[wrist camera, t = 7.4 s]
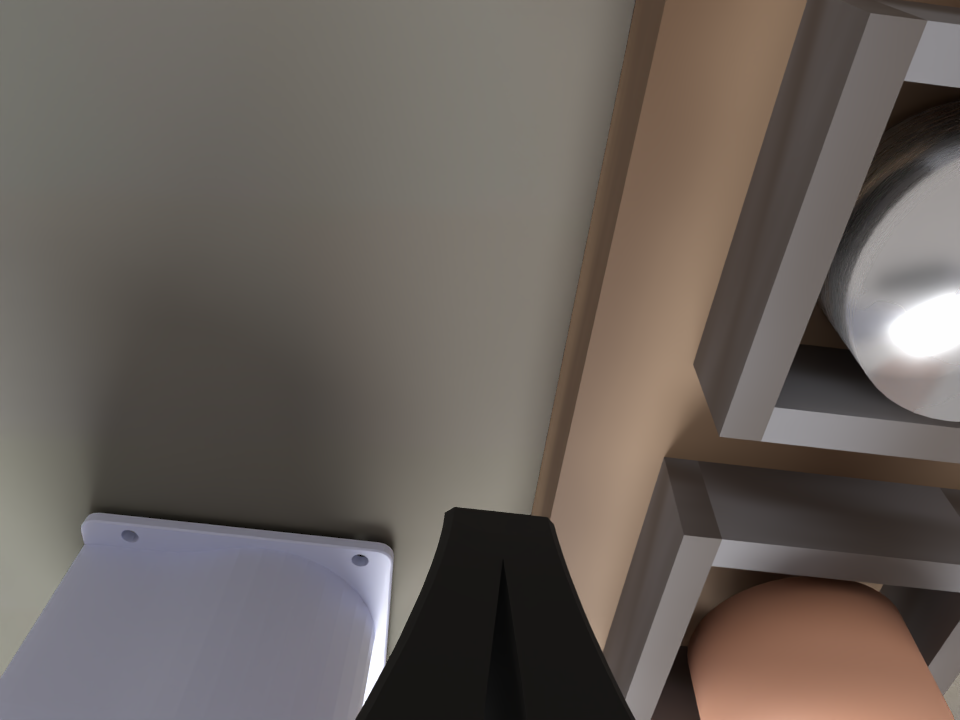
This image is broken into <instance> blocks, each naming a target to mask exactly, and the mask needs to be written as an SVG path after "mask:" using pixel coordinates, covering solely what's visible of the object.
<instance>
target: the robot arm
mask: <svg viewBox="0 0 960 720" xmlns="http://www.w3.org/2000/svg"><path fill="white" fill-rule="evenodd" d="M131 531H134V532H135V533H134V532H131ZM81 532H82V537H83V541H84V546H83V547H82V549H81V550H80V552H79V554H78V555H77V557H76V558H75V560H74V562H73V563H72V565H71V566H70V568H69V570H68V571H67V573H66V574H65V576H64V578H63V579H62V581H61V582H60V584H59V585H58V587H57V589H56V590H55V592H54V593H53V595H52V597H51V598H50V600H49V601H48V603H47V605H46V606H45V608H44V609H43V611H42V613H41V614H40V616H39V617H38V619H37V620H36V622H35V624H34V625H33V627H32V628H31V630H30V632H29V633H28V635H27V636H26V638H25V640H24V641H23V643H22V644H21V646H20V648H19V649H18V651H17V652H16V654H15V656H14V657H13V659H12V660H11V662H10V663H9V665H8V667H7V668H6V670H5V671H4V673H3V675H2V676H1V678H0V720H636V719H635V718H634V716H633V714H632V712H631V710H630V708H629V706H628V704H627V702H626V700H625V698H624V696H623V694H622V692H621V690H620V688H619V686H618V684H617V682H616V680H615V678H614V676H613V674H612V672H611V669H610V667H609V665H608V663H607V661H606V659H605V656H604V654H603V652H602V650H601V648H600V645H599V643H598V641H597V639H596V637H595V634H594V632H593V630H592V628H591V625H590V623H589V621H588V618H587V616H586V614H585V611H584V609H583V606H582V604H581V601H580V599H579V596H578V594H577V591H576V589H575V586H574V584H573V581H572V578H571V576H570V573H569V570H568V567H567V564H566V562H565V559H564V556H563V553H562V550H561V546H560V543H559V540H558V537H557V533H556V529H555V526H554V524H553V523H552V522H551V520H550V519H549V518H548V517H542V516H533V515H524V514H514V513H505V512H496V511H487V510H477V509H468V508H459V507H454V508H452V509H451V510H449V511H447V512H445V517H444V523H443V528H442V532H441V536H440V540H439V543H438V547H437V550H436V553H435V556H434V559H433V562H432V564H431V567H430V570H429V572H428V575H427V577H426V580H425V582H424V585H423V587H422V590H421V592H420V595H419V597H418V599H417V601H416V603H415V605H414V608H413V610H412V612H411V614H410V616H409V618H408V621H407V623H406V625H405V627H404V629H403V631H402V634H401V636H400V638H399V640H398V642H397V644H396V646H395V648H394V650H393V652H392V654H391V655H390V657H389V659H388V661H387V663H386V654H387V641H388V628H389V614H390V601H391V588H392V574H393V561H394V553H393V550H392V549H391V548H390V547H389V546H387V545H386V544H384V543H379V542H371V541H362V540H352V539H343V538H333V537H324V536H315V535H305V534H296V533H286V532H277V531H267V530H258V529H248V528H239V527H230V526H220V525H211V524H201V523H192V522H182V521H173V520H164V519H154V518H145V517H135V516H126V515H116V514H107V513H92V514H90V515H88V516H87V518H86V519H85V520H84V522H83V523H82V525H81ZM359 554H360V555H364V556H366V557H360V556H357V555H359ZM362 706H363V707H362Z"/></svg>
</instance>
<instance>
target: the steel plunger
mask: <svg viewBox="0 0 960 720" xmlns="http://www.w3.org/2000/svg"><path fill="white" fill-rule="evenodd" d="M816 302H817V303H818V305H819V307H820V308H821V310H822V311H823V313H824V314H825V316H826V317H827V318H828V320H829V321H830V323H831V324H832V326H833V327H834V328H835V330H836V331H837V333H838V334H839V336H840V337H841V339H842V340H843V341H844V343H845V344H846V346H847V347H848V349H849V350H850V352H851V353H852V354H853V356H854V357H855V359H856V360H857V362H858V363H859V364H860V366H861V367H862V369H863V370H864V372H865V373H866V375H867V376H868V377H869V379H870V380H871V381H872V382H873V384H874V385H875V386H876V388H877V389H878V390H880V391H881V392H882V393H883V394H884V395H885V396H886V397H887V398H889V399H890V400H892V401H893V402H895V403H896V404H898V405H899V406H901V407H903V408H905V409H907V410H910V411H912V412H914V413H916V414H920V415H923V416H926V417H930V418H934V419H939V420H945V421H955V422H960V100H955V101H950V102H947V103H943V104H940V105H937V106H934V107H931V108H928V109H926V110H923V111H921V112H919V113H916V114H914V115H912V116H910V117H908V118H906V119H904V120H902V121H901V122H899V123H897V124H895V125H893V126H892V127H890V128H888V129H887V130H886V131H884V132H883V135H882V137H881V140H880V142H879V145H878V147H877V150H876V152H875V155H874V157H873V160H872V162H871V165H870V167H869V170H868V173H867V175H866V178H865V180H864V183H863V185H862V188H861V190H860V193H859V195H858V198H857V200H856V203H855V205H854V208H853V210H852V213H851V215H850V218H849V220H848V223H847V226H846V228H845V231H844V233H843V236H842V238H841V241H840V243H839V246H838V248H837V251H836V253H835V256H834V258H833V261H832V263H831V266H830V268H829V271H828V273H827V276H826V279H825V281H824V284H823V286H822V289H821V291H820V294H819V296H818V299H817V301H816Z"/></svg>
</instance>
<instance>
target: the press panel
mask: <svg viewBox="0 0 960 720" xmlns="http://www.w3.org/2000/svg"><path fill="white" fill-rule="evenodd" d="M955 100H960V0H636V2H635V7H634V12H633V17H632V22H631V27H630V32H629V37H628V42H627V46H626V51H625V56H624V61H623V66H622V71H621V76H620V81H619V86H618V91H617V96H616V101H615V105H614V110H613V115H612V120H611V125H610V130H609V135H608V140H607V145H606V150H605V155H604V159H603V164H602V169H601V174H600V179H599V184H598V189H597V194H596V199H595V204H594V209H593V213H592V218H591V223H590V228H589V233H588V238H587V243H586V248H585V253H584V258H583V263H582V268H581V272H580V277H579V282H578V287H577V292H576V297H575V302H574V307H573V312H572V317H571V322H570V326H569V331H568V336H567V341H566V346H565V351H564V356H563V361H562V366H561V371H560V376H559V381H558V385H557V390H556V395H555V400H554V405H553V410H552V415H551V420H550V425H549V430H548V435H547V439H546V444H545V449H544V454H543V459H542V464H541V469H540V474H539V479H538V484H537V489H536V493H535V498H534V503H533V508H532V513H531V515H533V516H542V517H548V518H549V519H550V520H551V522H552V523H553V524H554V526H555V529H556V533H557V537H558V540H559V543H560V546H561V550H562V553H563V556H564V559H565V562H566V564H567V567H568V570H569V573H570V576H571V578H572V581H573V584H574V586H575V589H576V591H577V594H578V596H579V599H580V601H581V604H582V606H583V609H584V611H585V614H586V616H587V618H588V621H589V623H590V625H591V628H592V630H593V632H594V634H595V637H596V639H597V641H598V643H599V645H600V648H601V650H602V652H603V654H604V656H605V659H606V661H607V663H608V665H609V667H610V669H611V672H612V674H613V676H614V678H615V680H616V682H617V684H618V686H619V688H620V690H621V692H622V694H623V696H624V698H625V700H626V702H627V704H628V706H629V708H630V710H631V712H632V714H633V716H634V718H635V719H636V720H700V715H699V711H698V706H697V702H696V697H695V693H694V688H693V684H692V679H691V674H690V670H689V665H688V658H687V651H688V645H689V641H690V638H691V636H692V634H693V632H694V630H695V628H696V627H697V626H698V624H699V623H700V621H701V620H702V619H703V618H704V617H705V616H706V615H707V614H708V613H709V612H710V611H711V610H712V609H714V608H715V607H716V606H717V605H719V604H720V603H722V602H723V601H725V600H726V599H728V598H730V597H731V596H733V595H735V594H737V593H739V592H741V591H743V590H746V589H749V588H751V587H754V586H756V585H759V584H763V583H766V582H770V581H774V580H779V579H784V578H791V577H799V576H810V577H819V578H828V579H838V580H847V581H855V582H859V583H861V584H864V585H866V586H869V587H871V588H873V589H875V590H877V591H878V592H880V593H882V594H883V595H884V596H885V597H887V598H888V599H889V600H890V601H891V602H892V603H893V604H894V605H895V606H896V608H897V609H898V611H899V613H900V614H901V616H902V618H903V620H904V622H905V624H906V626H907V628H908V630H909V632H910V633H911V635H912V637H913V639H914V641H915V643H916V645H917V647H918V649H919V651H920V653H921V655H922V657H923V659H924V661H925V662H926V664H927V666H928V668H929V670H930V672H931V674H932V676H933V678H934V680H935V682H936V684H937V686H938V688H939V689H940V691H941V693H942V695H944V694H945V693H946V691H947V690H948V688H949V687H950V686H951V684H952V683H953V682H954V680H955V679H956V677H957V676H958V675H959V673H960V422H955V421H945V420H939V419H934V418H930V417H926V416H923V415H920V414H916V413H914V412H912V411H910V410H907V409H905V408H903V407H901V406H899V405H898V404H896V403H895V402H893V401H892V400H890V399H889V398H887V397H886V396H885V395H884V394H883V393H882V392H881V391H880V390H878V389H877V388H876V386H875V385H874V384H873V382H872V381H871V380H870V379H869V377H868V376H867V375H866V373H865V372H864V370H863V369H862V367H861V366H860V364H859V363H858V362H857V360H856V359H855V357H854V356H853V354H852V353H851V352H850V350H849V349H848V347H847V346H846V344H845V343H844V341H843V340H842V339H841V337H840V336H839V334H838V333H837V331H836V330H835V328H834V327H833V326H832V324H831V323H830V321H829V320H828V318H827V317H826V316H825V314H824V313H823V311H822V310H821V308H820V307H819V305H818V303H817V302H816V301H817V299H818V296H819V294H820V291H821V289H822V286H823V284H824V281H825V279H826V276H827V273H828V271H829V268H830V266H831V263H832V261H833V258H834V256H835V253H836V251H837V248H838V246H839V243H840V241H841V238H842V236H843V233H844V231H845V228H846V226H847V223H848V220H849V218H850V215H851V213H852V210H853V208H854V205H855V203H856V200H857V198H858V195H859V193H860V190H861V188H862V185H863V183H864V180H865V178H866V175H867V173H868V170H869V167H870V165H871V162H872V160H873V157H874V155H875V152H876V150H877V147H878V145H879V142H880V140H881V137H882V135H883V132H884V131H886V130H887V129H888V128H890V127H892V126H893V125H895V124H897V123H899V122H901V121H902V120H904V119H906V118H908V117H910V116H912V115H914V114H916V113H919V112H921V111H923V110H926V109H928V108H931V107H934V106H937V105H940V104H943V103H947V102H950V101H955Z"/></svg>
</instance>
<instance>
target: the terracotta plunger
mask: <svg viewBox="0 0 960 720" xmlns="http://www.w3.org/2000/svg"><path fill="white" fill-rule="evenodd" d="M687 658H688V665H689V670H690V674H691V679H692V684H693V688H694V693H695V697H696V702H697V706H698V711H699V715H700V720H954V717H953V715H952V713H951V711H950V709H949V707H948V705H947V703H946V701H945V699H944V697H943V695H942V693H941V691H940V689H939V688H938V686H937V684H936V682H935V680H934V678H933V676H932V674H931V672H930V670H929V668H928V666H927V664H926V662H925V661H924V659H923V657H922V655H921V653H920V651H919V649H918V647H917V645H916V643H915V641H914V639H913V637H912V635H911V633H910V632H909V630H908V628H907V626H906V624H905V622H904V620H903V618H902V616H901V614H900V613H899V611H898V609H897V608H896V606H895V605H894V604H893V603H892V602H891V601H890V600H889V599H888V598H887V597H885V596H884V595H883V594H882V593H880V592H878V591H877V590H875V589H873V588H871V587H869V586H866V585H864V584H861V583H859V582H855V581H847V580H838V579H828V578H819V577H810V576H799V577H791V578H784V579H779V580H774V581H770V582H766V583H763V584H759V585H756V586H754V587H751V588H749V589H746V590H743V591H741V592H739V593H737V594H735V595H733V596H731V597H730V598H728V599H726V600H725V601H723V602H722V603H720V604H719V605H717V606H716V607H715V608H714V609H712V610H711V611H710V612H709V613H708V614H707V615H706V616H705V617H704V618H703V619H702V620H701V621H700V623H699V624H698V626H697V627H696V628H695V630H694V632H693V634H692V636H691V638H690V641H689V645H688V651H687Z"/></svg>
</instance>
